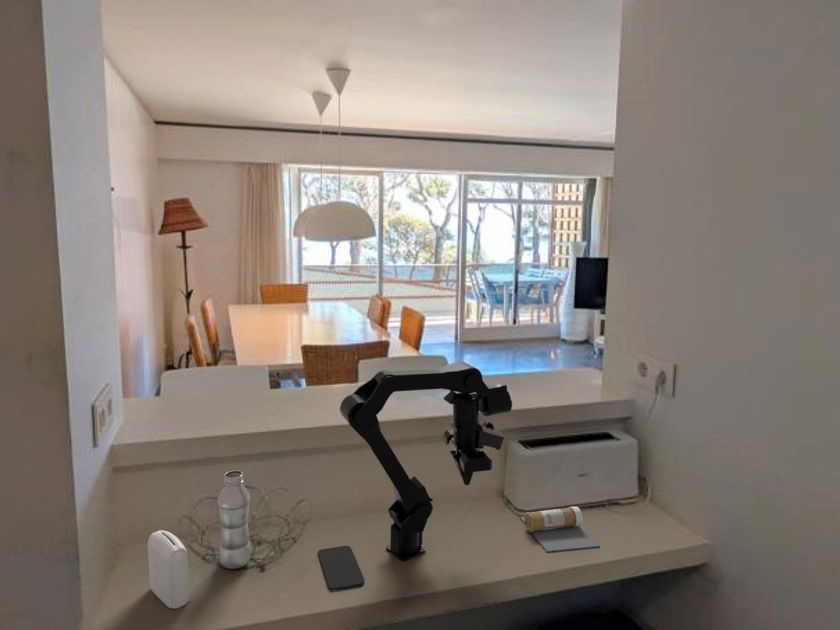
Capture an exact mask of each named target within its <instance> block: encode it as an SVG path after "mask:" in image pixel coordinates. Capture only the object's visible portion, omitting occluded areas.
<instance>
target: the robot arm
mask: <svg viewBox="0 0 840 630" xmlns="http://www.w3.org/2000/svg"><path fill="white" fill-rule="evenodd" d="M440 389H441V390H447V391H449V392H448V393H447V394H446V395H445V396H444V397H443V400H444V401H445V402H446V403H448V404H449V405H452V420H451V421H450V426H451V428H452V429H451V428H450V429H446V430H445V431H444V433H443V442H444V444H445V445H446V446H448V445H450V441H451V445H452V447H453V449H452V450H450V451H449V453H450V455H451V457H452V459H453V462H454V464H455V466H456V469H457V471H458V473H459V475H460V478H461V480H462V482H463V484H464V486H469V485H470V484H471V481H472V478H473V475H474V473H476V472H477V473H479V472H486V471H491V470H492V469H493V460H492V458H491V457H490V456H489V455H488V454H487V452H485V451H484V450H482V449H484V448H485V447H489V448H493V449H495V450H497V451H500V450H501V449H502V445H503V444H504V440H505V437H506V436H505V435H504V434H503V433H502V432H501V431H500V430H498V429H497V428H495V427H494V423H492V421H488V420H485V421H484V422H483V423H482V424H481V423H480V421H479V420H480V417H479V416H480V414H482V415H483V416H484V417H491V416H497V415H498V416H499V415H503V414H508V413H511V410H512V409H513V400H512V398H511V395H510V392H509V391H508V385H507V384H505V383H503V382H501V383H500V382H499V383H497V384H491V385H487V383H485V381H484V380H483V374H482V371H481V370H479V369H478V368H477V367H474V366H473V365H470V364H469V363H466V362H464V361H459V362H458V361H457V362H454V363H449V364H446V365H444V366H442V367H440V368H431V369H428V368H427V369H425V368H424V369H407V370H406V369H405V370H391V371H390V370H380V371H378V372H377V373H375V374H374V376H373V377H371V379H369V380H368V381H366V382H365V383H363V384H362V385H360V386H359V387H358V388H356V390H355V391H354V392H353V393H352V394H349V395H346V397H345V398H343V400H342V401H341V403H340V406H339V411H340V415H341V416H342V417H343V418H344V419H345V421H346V422H347V423H348V424H349V426H350V427H351V428H352V429H353V430H354V431H355V433H357V434H358V435H359V436H360V437H361V438H362V439H363V441H365V443H366V445H367V446H368V448H369V450H370V451H371V452H372V455H373V456H374V458H375V459H376V460H377V462H378V464H379V465H380V467H381V468H382V470H383V472H384V473H385V475H386V477H387V478H388V480H389V482H390V483H391V485H392V488H393V493H394V495H395V498H396V500H395V501H394V502H393V503H392V504H391V505H390V506H389V508H388V509H387V511H388V515H389V517H390V518H391V520H392V521H393V524H391V525H390V542H389V543H390V544H388V545H385V549H386V550H388V551H389V552H390V553H392V555H394V556H395V557H396V558H398V559H399V560H400V561H403V562H405V561H407V560H410V559H411V558H412V559H413V558H414V557H416V556H419V555H422V554H423V553H425V552H426V548H424V547H423V546H422V545H423V532H424V530H425V528H426V525H427V522H428V520H429V518H430V517H431V515H432V512H433V510H434V507H433V503H432V502H433V501H434V499H433V498H432V497H431V496H430V494H429V493H428V491H427V489H426V486H425V485H424V484H423V483H422V482H421V481H420V480H419V478H417V477H416V476H415V475H413V477H411V478H410V477H409V475H408V473H407V472H406V471H405V468H404V467H403V465H402V464H401V462H400V461H399V459H398V457H397V456H396V454H395V453H394V451H393V449H392V448H391V446H390V444H389V442H388V441H387V440H386V438H385V435H384V434H383V432H382V431H381V430H382V429H381V425H380V421H379V419H378V414H379V413H380V412H381V411H382V410H383V409H384V407H385V405H386V403H387V401H388V399H389V398H390V396H391V395H393V394H394V392H395V393H398V392H411V391H412V392H413V391H426V390H430V391H431V390H440ZM479 413H480V414H479ZM480 449H481V450H480Z"/></svg>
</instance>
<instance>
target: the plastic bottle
mask: <svg viewBox="0 0 840 630" xmlns="http://www.w3.org/2000/svg"><path fill="white" fill-rule="evenodd" d="M223 478H224V480H223V485H224V487H223V489H222V490H221V491H220V493H219V495H218V497H217V505H218V506H217V507H218V512H219V516H220V517H219V518H220V527H221V534H220V535H221V536H220V546H219V550H218V551H219V553H218V557H219V561H220V564H221V565H222V566H223V568H226V569H229V570H235V569H236V570H237V569H239V568H243V567H244V566H246V565H247V564H248V563H249V561H250V560H251V558H252V557H251V556H252V544H251V540H250V535H249V509H250V502H251V494H250V493H249V490H248V489H247V488H246V486H245V485H244V474H243V471H241V470H229V471H227V472H225V473H224V477H223Z"/></svg>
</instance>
